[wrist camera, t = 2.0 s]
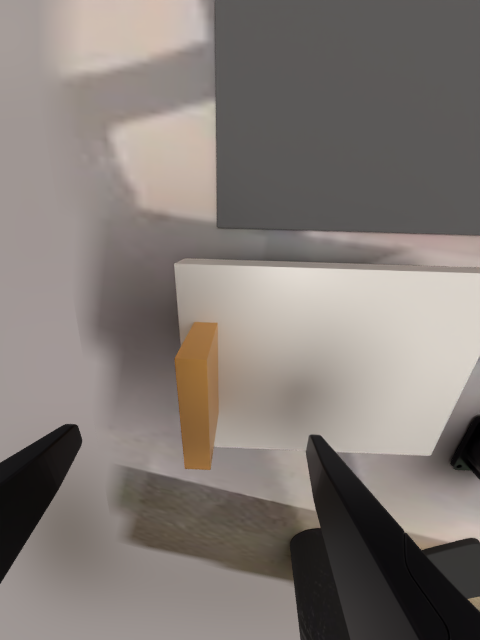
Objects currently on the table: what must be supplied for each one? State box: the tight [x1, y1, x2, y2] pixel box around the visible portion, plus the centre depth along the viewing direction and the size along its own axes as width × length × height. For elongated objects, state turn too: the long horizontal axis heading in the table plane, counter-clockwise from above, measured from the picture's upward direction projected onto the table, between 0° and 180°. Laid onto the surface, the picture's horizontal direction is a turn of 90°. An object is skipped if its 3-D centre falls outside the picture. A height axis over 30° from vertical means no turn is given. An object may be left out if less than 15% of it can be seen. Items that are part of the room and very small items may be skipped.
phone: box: [422, 538, 480, 599], centre depth 31 cm, size 7×1×15 cm
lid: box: [174, 258, 480, 470], centre depth 12 cm, size 12×16×6 cm
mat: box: [215, 0, 480, 235], centre depth 12 cm, size 15×19×1 cm
